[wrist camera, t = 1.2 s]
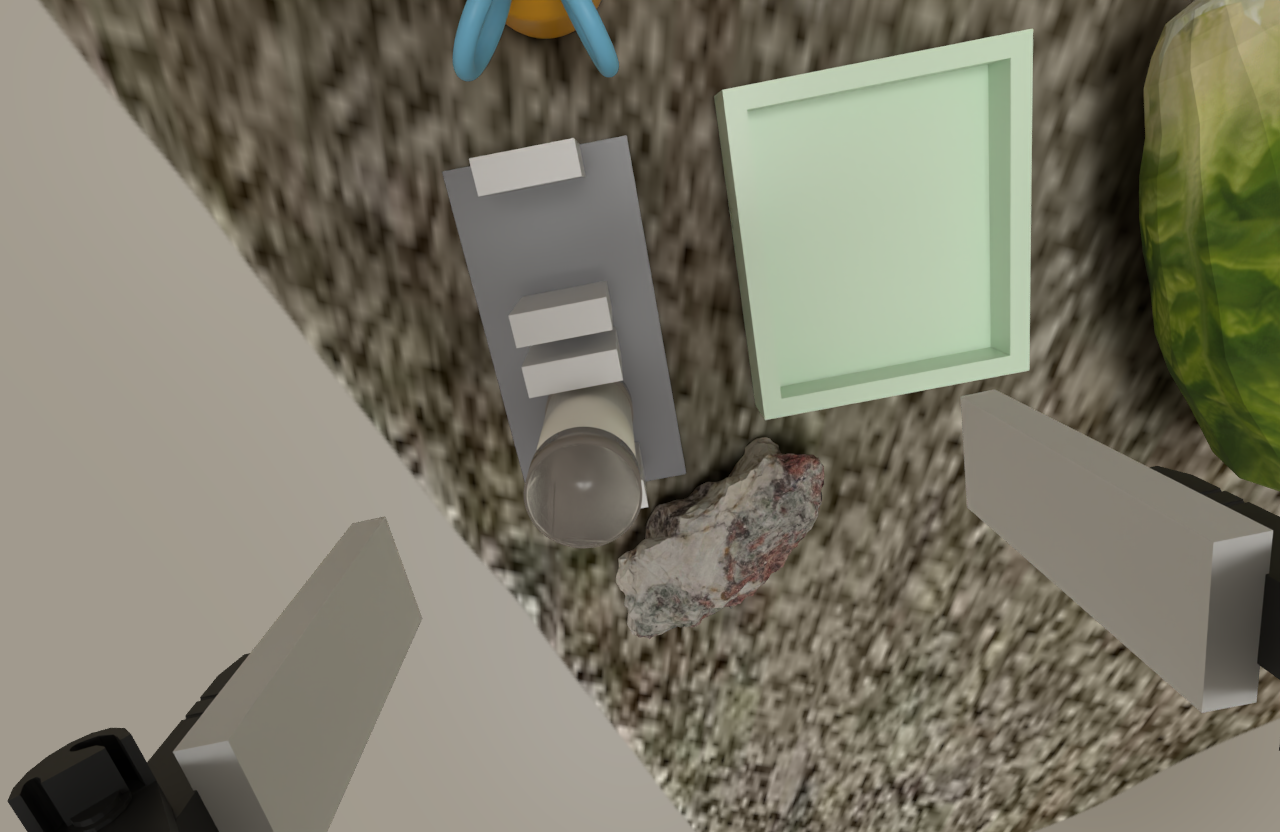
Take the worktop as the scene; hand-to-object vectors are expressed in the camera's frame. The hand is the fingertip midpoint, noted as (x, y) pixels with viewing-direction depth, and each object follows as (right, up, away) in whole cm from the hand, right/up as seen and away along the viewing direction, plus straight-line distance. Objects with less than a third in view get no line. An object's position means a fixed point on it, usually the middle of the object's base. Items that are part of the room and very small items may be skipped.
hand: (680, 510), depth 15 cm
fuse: (-4, +3, +21) cm, 22 cm away
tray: (+11, +11, +20) cm, 25 cm away
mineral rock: (+3, -5, +26) cm, 26 cm away
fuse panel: (-4, +7, +21) cm, 22 cm away
